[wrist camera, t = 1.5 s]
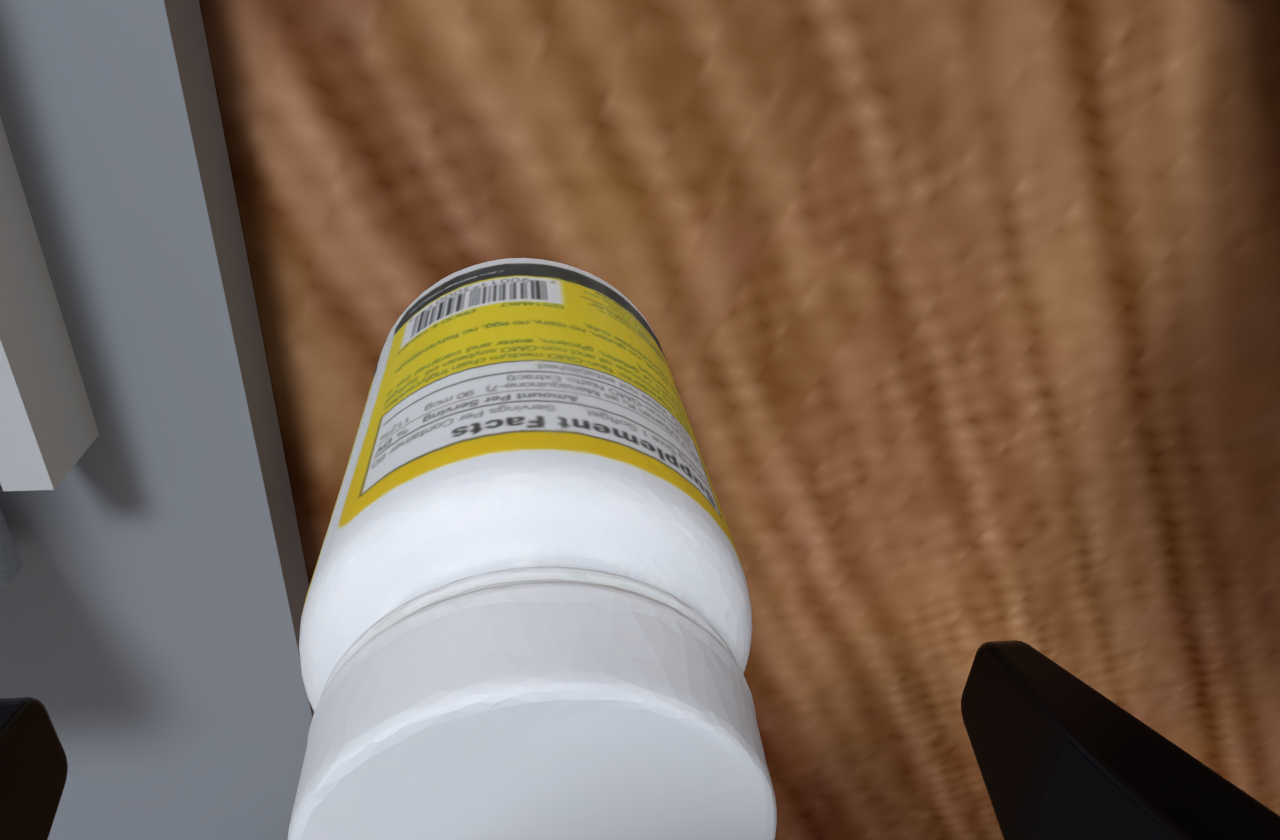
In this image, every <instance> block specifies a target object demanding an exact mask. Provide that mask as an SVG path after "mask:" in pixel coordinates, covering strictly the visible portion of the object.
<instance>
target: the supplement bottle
mask: <svg viewBox="0 0 1280 840" xmlns="http://www.w3.org/2000/svg"><path fill="white" fill-rule="evenodd" d="M751 636H752V613H751V604H750V599H749V593H748V588H747V583H746V578H745V574H744V570H743V567H742V563H741V560H740V557H739V554H738V551H737V549H736V546H735V543H734V541H733V538H732V535H731V533H730V530H729V527H728V525H727V522H726V520H725V517H724V515H723V512H722V509H721V507H720V504H719V502H718V499H717V496H716V493H715V491H714V488H713V485H712V483H711V480H710V477H709V474H708V472H707V469H706V466H705V464H704V461H703V458H702V456H701V453H700V450H699V447H698V445H697V442H696V439H695V436H694V434H693V431H692V428H691V426H690V423H689V421H688V418H687V415H686V413H685V410H684V407H683V404H682V402H681V399H680V396H679V393H678V390H677V388H676V385H675V382H674V380H673V377H672V374H671V372H670V369H669V366H668V364H667V362H666V359H665V357H664V354H663V352H662V349H661V346H660V344H659V342H658V340H657V338H656V336H655V334H654V332H653V330H652V328H651V327H650V325H649V323H648V322H647V320H646V319H645V317H644V316H643V315H642V313H641V312H640V311H639V310H638V309H637V308H636V307H635V306H634V304H633V303H632V302H631V301H630V300H629V299H628V298H627V297H625V296H624V295H623V294H622V293H621V292H620V291H618V290H617V289H616V288H614V287H613V286H611V285H610V284H609V283H607V282H605V281H604V280H602V279H600V278H598V277H596V276H594V275H592V274H590V273H588V272H586V271H583V270H580V269H578V268H575V267H572V266H569V265H566V264H562V263H558V262H553V261H548V260H542V259H531V258H509V259H499V260H494V261H489V262H484V263H480V264H477V265H473V266H470V267H468V268H465V269H462V270H460V271H458V272H455V273H453V274H451V275H449V276H447V277H445V278H443V279H442V280H440V281H439V282H437V283H436V284H434V285H433V286H431V287H430V288H429V289H427V290H426V291H424V292H423V293H422V294H421V295H420V296H419V297H418V298H417V299H416V300H414V301H413V302H412V303H411V304H410V306H409V307H408V308H407V309H406V310H405V311H404V312H403V314H402V315H401V316H400V317H399V319H398V320H397V322H396V323H395V325H394V327H393V328H392V330H391V331H390V333H389V335H388V337H387V340H386V342H385V344H384V347H383V349H382V352H381V355H380V358H379V361H378V365H377V368H376V371H375V374H374V377H373V381H372V384H371V386H370V389H369V393H368V398H367V401H366V404H365V407H364V411H363V414H362V418H361V421H360V424H359V428H358V431H357V435H356V438H355V442H354V445H353V448H352V452H351V455H350V458H349V462H348V465H347V468H346V472H345V475H344V478H343V481H342V484H341V488H340V491H339V494H338V497H337V501H336V504H335V507H334V510H333V513H332V517H331V520H330V523H329V526H328V529H327V532H326V536H325V539H324V542H323V545H322V548H321V551H320V554H319V558H318V561H317V564H316V567H315V570H314V573H313V576H312V579H311V583H310V586H309V589H308V592H307V596H306V600H305V604H304V608H303V612H302V616H301V625H300V638H299V652H300V662H301V671H302V678H303V682H304V686H305V689H306V693H307V696H308V699H309V701H310V704H311V706H312V708H313V711H314V715H313V718H312V722H311V725H310V729H309V733H308V740H307V748H306V752H305V757H304V762H303V766H302V771H301V775H300V780H299V784H298V789H297V793H296V797H295V802H294V806H293V810H292V815H291V821H290V826H289V831H288V840H775V835H776V824H777V810H776V798H775V793H774V790H773V786H772V782H771V778H770V775H769V771H768V767H767V763H766V759H765V755H764V750H763V746H762V742H761V738H760V733H759V729H758V725H757V720H756V713H755V707H754V703H753V699H752V694H751V691H750V689H749V687H748V684H747V682H746V679H745V677H744V675H743V674H744V671H745V668H746V665H747V661H748V657H749V653H750V646H751Z"/></svg>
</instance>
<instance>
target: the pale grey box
mask: <svg viewBox="0 0 1280 840" xmlns="http://www.w3.org/2000/svg"><path fill="white" fill-rule="evenodd" d="M22 566H23V564H22V561H21V559H20V556H19V554H18V551H17V549H16V546H15V544H14V541H13V539H12V536H11V534H10V531H9V529H8V526H7V524H6V521H5V519H4V516H3V514H2V511H1V509H0V595H1V594H2V592H3V591H4V590H5V588H6V587H7V586H8V585H9V583H10V582H11V581H12V579H13V578H14V577H15V575H16V574H17V573H18V572H19V570H20V569H21V568H22Z"/></svg>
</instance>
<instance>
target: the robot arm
mask: <svg viewBox="0 0 1280 840" xmlns="http://www.w3.org/2000/svg"><path fill="white" fill-rule="evenodd" d="M961 712H962V717H963V721H964V724H965V727H966V730H967V733H968V736H969V739H970V742H971V745H972V747H973V750H974V753H975V756H976V759H977V762H978V765H979V768H980V771H981V774H982V776H983V779H984V782H985V785H986V788H987V791H988V794H989V797H990V800H991V803H992V806H993V808H994V811H995V814H996V817H997V820H998V823H999V826H1000V829H1001V832H1002V835H1003V837H1004V840H1280V816H1279V815H1277V814H1276V813H1275V812H1273V811H1272V810H1270V809H1269V808H1267V807H1266V806H1264V805H1263V804H1261V803H1260V802H1258V801H1257V800H1255V799H1254V798H1253V797H1251V796H1250V795H1248V794H1247V793H1245V792H1244V791H1242V790H1241V789H1239V788H1238V787H1236V786H1235V785H1234V784H1232V783H1231V782H1229V781H1228V780H1226V779H1225V778H1223V777H1222V776H1220V775H1219V774H1217V773H1216V772H1214V771H1213V770H1212V769H1210V768H1209V767H1207V766H1206V765H1204V764H1203V763H1201V762H1200V761H1198V760H1197V759H1195V758H1194V757H1192V756H1191V755H1190V754H1188V753H1187V752H1185V751H1184V750H1182V749H1181V748H1179V747H1178V746H1176V745H1175V744H1173V743H1172V742H1170V741H1169V740H1168V739H1166V738H1165V737H1163V736H1162V735H1160V734H1159V733H1157V732H1156V731H1154V730H1153V729H1151V728H1150V727H1149V726H1147V725H1146V724H1144V723H1143V722H1141V721H1140V720H1138V719H1137V718H1135V717H1134V716H1132V715H1131V714H1129V713H1128V712H1127V711H1125V710H1124V709H1122V708H1121V707H1119V706H1118V705H1116V704H1115V703H1113V702H1112V701H1110V700H1109V699H1107V698H1106V697H1105V696H1103V695H1102V694H1100V693H1099V692H1097V691H1096V690H1094V689H1093V688H1091V687H1090V686H1088V685H1087V684H1085V683H1084V682H1083V681H1081V680H1080V679H1078V678H1077V677H1075V676H1074V675H1072V674H1071V673H1069V672H1068V671H1066V670H1065V669H1063V668H1062V667H1061V666H1059V665H1058V664H1056V663H1055V662H1053V661H1052V660H1050V659H1049V658H1047V657H1046V656H1044V655H1043V654H1042V653H1040V652H1039V651H1037V650H1036V649H1034V648H1033V647H1031V646H1030V645H1028V644H1026V643H1024V642H1022V641H1016V640H1015V641H996V642H986V643H984V644H982V645H981V646H980V647H979V648H978V650H977V652H976V655H975V658H974V661H973V664H972V667H971V670H970V673H969V676H968V679H967V682H966V685H965V688H964V691H963V694H962V699H961ZM67 773H68V764H67V757H66V753H65V751H64V749H63V746H62V744H61V742H60V739H59V737H58V735H57V733H56V730H55V728H54V726H53V723H52V721H51V719H50V716H49V714H48V712H47V709H46V707H45V706H44V704H43V703H42V702H41V701H40V700H38V699H37V698H32V697H20V698H3V699H0V840H48V837H49V834H50V831H51V828H52V824H53V821H54V818H55V815H56V812H57V809H58V806H59V803H60V799H61V796H62V793H63V790H64V787H65V783H66V779H67Z"/></svg>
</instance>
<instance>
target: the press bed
mask: <svg viewBox="0 0 1280 840" xmlns="http://www.w3.org/2000/svg"><path fill="white" fill-rule="evenodd" d="M0 509H1V511H2V514H3V516H4V519H5V521H6V524H7V526H8V529H9V531H10V534H11V536H12V539H13V541H14V544H15V546H16V549H17V551H18V554H19V556H20V559H21V561H22V564H23V566H22V568H21V569H20V570H19V572H18V573H17V574H16V575H15V577H14V578H13V579H12V581H11V582H10V583H9V585H8V586H7V587H6V588H5V590H4V591H3V592H2V594H1V595H0V699H3V698H20V697H32V698H37V699H38V700H40V701H41V702H42V703H43V704H44V706H45V707H46V709H47V712H48V714H49V716H50V719H51V721H52V723H53V726H54V728H55V730H56V733H57V735H58V737H59V739H60V742H61V744H62V746H63V749H64V751H65V753H66V757H67V764H68V773H67V779H66V783H65V787H64V790H63V793H62V796H61V799H60V803H59V806H58V809H57V812H56V815H55V818H54V821H53V824H52V828H51V831H50V834H49V837H48V840H288V831H289V826H290V821H291V815H292V810H293V806H294V802H295V797H296V793H297V789H298V784H299V780H300V775H301V771H302V766H303V762H304V757H305V752H306V748H307V740H308V733H309V729H310V725H311V722H312V718H313V715H314V711H313V708H312V706H311V704H310V701H309V699H308V696H307V693H306V689H305V686H304V682H303V678H302V671H301V662H300V652H299V638H300V625H301V616H302V612H303V608H304V604H305V600H306V596H307V592H308V589H309V581H308V576H307V571H306V566H305V560H304V555H303V550H302V544H301V539H300V534H299V528H298V523H297V518H296V512H295V507H294V502H293V497H292V491H291V486H290V481H289V475H288V470H287V465H286V459H285V454H284V449H283V444H282V438H281V433H280V428H279V422H278V417H277V412H276V406H275V401H274V396H273V390H272V385H271V380H270V375H269V369H268V364H267V359H266V353H265V348H264V343H263V337H262V332H261V327H260V321H259V316H258V311H257V306H256V300H255V295H254V290H253V284H252V279H251V274H250V268H249V263H248V258H247V253H246V247H245V242H244V237H243V231H242V226H241V221H240V215H239V210H238V205H237V199H236V194H235V189H234V184H233V178H232V173H231V168H230V162H229V157H228V152H227V146H226V141H225V136H224V130H223V125H222V120H221V115H220V109H219V104H218V99H217V93H216V88H215V83H214V77H213V72H212V67H211V62H210V56H209V51H208V46H207V40H206V35H205V30H204V24H203V19H202V14H201V8H200V3H199V0H0Z"/></svg>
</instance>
